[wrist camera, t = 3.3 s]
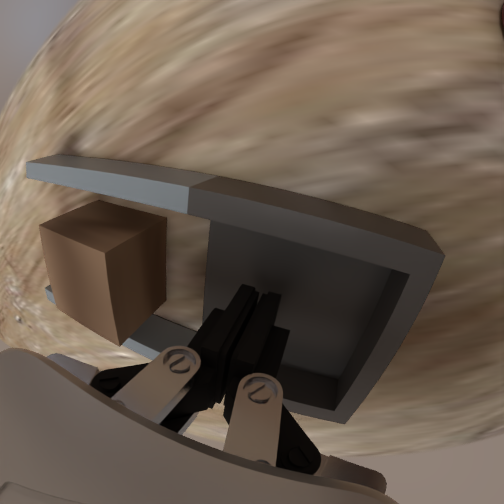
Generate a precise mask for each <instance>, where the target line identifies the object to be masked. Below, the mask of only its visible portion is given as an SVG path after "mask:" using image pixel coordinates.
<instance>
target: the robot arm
mask: <svg viewBox="0 0 504 504" xmlns="http://www.w3.org/2000/svg"><path fill="white" fill-rule="evenodd" d="M281 296H282V295H281V294H277V293H274V292H270V291H269V292H268V294H264V293H263V294H262V296H261V298H260V300H259V302H258V297H259V292H257V291H255V287H253V286H249V285H246V284H242V285H241V286H240V288H239V289H238V291H237V292H236V294H235V295H234V297H233V299H232V300H231V302H230V303H229V305H228V306H227V308H226V309H225V310H222V309H219V308H214V309H213V310H212V312H211V313H210V314H209V316H208V317H207V319H206V320H205V322H204V323H203V324H202V326H201V327H200V329H199V330H198V331H197V333H196V334H195V336H194V337H193V338H192V340H191V341H190V343H189V344H188V346H187V347H186V346H172V347H169V348H167V349H165V350H164V351H162V352H161V353H160V354H159V355H158V356H157V357H156V358H155V359H154V360H153V361H151V362H150V363H145V364H139V365H134V366H127V367H121V368H114V369H107V370H104V371H99V369H98V368H97V367H94V366H92V365H89V364H86V363H83V362H80V361H78V360H75V359H72V358H70V357H67V356H65V355H62V354H58V353H56V354H51V355H49V356H47V357H45V356H43V355H41V354H39V353H36V352H33V351H30V350H27V349H22V348H8V349H6V350H4V351H2V352H0V504H398V503H397V502H396V501H395V500H393V499H392V498H390V497H389V496H387V495H385V491H386V485H387V483H386V480H385V478H384V477H383V475H382V474H381V473H379V472H377V471H374V470H371V469H368V468H365V467H362V466H359V465H356V464H353V463H351V462H347V461H345V460H342V459H340V458H337V457H334V456H332V455H330V456H329V457H328V456H325V455H323V454H320V452H319V451H318V449H317V447H316V446H315V445H314V444H313V442H312V441H311V440H310V439H309V437H308V436H307V435H306V434H305V432H304V431H303V430H302V428H301V427H300V426H299V424H298V423H297V422H296V421H295V419H294V418H293V417H292V415H291V414H290V413H289V411H288V410H287V409H286V407H285V406H284V405H283V403H282V399H283V389H282V386H281V384H280V383H279V382H278V381H277V380H276V376H277V373H278V370H279V367H280V364H281V360H282V357H283V354H284V350H285V347H286V344H287V340H288V337H289V333H290V330H288V329H284V328H281V327H277V326H274V324H275V320H276V316H277V312H278V308H279V304H280V300H281ZM257 302H258V304H257ZM224 395H225V399H224V405H225V408H224V414H223V416H224V418H225V419H226V421H227V423H228V425H229V428H228V432H227V436H226V440H225V444H224V449H223V451H221V450H218V449H215V448H212V447H210V446H207V445H205V444H202V443H200V442H197V441H195V440H192V439H190V438H187V437H185V436H183V435H182V434H183V433H184V432H185V431H186V429H187V428H188V427H189V426H190V424H191V423H192V422H193V421H194V419H195V418H196V417H197V415H198V413H199V411H203V410H207V409H208V407H209V408H211V409H212V408H213V406H214V404H215V402H216V403H219V404H220V403H221V401H222V399H223V397H224Z"/></svg>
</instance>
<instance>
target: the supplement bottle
mask: <svg viewBox="0 0 504 504" xmlns="http://www.w3.org/2000/svg"><path fill="white" fill-rule="evenodd" d="M502 22H503V27H504V5H503V8H502Z"/></svg>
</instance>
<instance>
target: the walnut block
mask: <svg viewBox="0 0 504 504" xmlns="http://www.w3.org/2000/svg"><path fill="white" fill-rule="evenodd" d="M39 229H40V235H41V241H42V247H43V252H44V258H45V263H46V267H47V272H48V276H49V280H50V284H51V288H52V292H53V296H54V299H55V303H56V306H57V308H58V309H59V310H61V311H62V312H64V313H65V314H67V315H68V316H70V317H71V318H73V319H74V320H76V321H77V322H79V323H80V324H82V325H84V326H85V327H87V328H88V329H90V330H92V331H93V332H95V333H97V334H98V335H100V336H102V337H103V338H105V339H107V340H109V341H110V342H112V343H114V344H116V345H118V346H119V347H120V346H121V345H122V344H123V343H124V342H125V341H126V340H127V339H128V338H129V337H130V336H131V335H132V334H133V333H134V332H135V331H136V330H137V329H138V328H139V327H140V326H141V325H142V324H143V323H144V322H145V321H146V320H147V319H148V318H149V317H150V316H151V315H152V314H153V313H154V312H155V311H156V310H157V309H158V308H159V307H160V306H161V305H162V304H163V303H164V302H165V301H166V230H167V218H166V217H162V216H158V215H154V214H151V213H147V212H143V211H139V210H135V209H131V208H127V207H123V206H119V205H116V204H112V203H108V202H104V201H100V200H97V201H95V202H92V203H90V204H87V205H85V206H82V207H80V208H77V209H75V210H72V211H70V212H68V213H65V214H63V215H61V216H58V217H56V218H54V219H51V220H49V221H47V222H45V223H43V224H40V225H39Z"/></svg>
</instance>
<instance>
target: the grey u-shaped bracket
mask: <svg viewBox="0 0 504 504" xmlns="http://www.w3.org/2000/svg"><path fill="white" fill-rule="evenodd" d="M26 171H27V178H30V179H35V180H39V181H44V182H49V183H54V184H58V185H63V186H68V187H72V188H77V189H81V190H86V191H91V192H95V193H99V194H104V195H108V196H113V197H117V198H121V199H126V200H130V201H134V202H139V203H143V204H147V205H151V206H156V207H160V208H164V209H168V210H172V211H176V212H181V213H185V214H189V215H193V216H197V217H201V218H205V219H209V220H211V221H210V231H209V242H208V253H207V265H206V278H205V291H204V306H203V322H202V324H203V323H204V322H205V320H206V319H207V317H208V316H209V314H210V313H211V312H212V310H213V309H214V308H219V309H222V310H225V309H226V308H227V306H228V305H229V303H230V302H231V300H232V299H233V297H234V295H235V294H236V292H237V291H238V289H239V288H240V286H241V285H242V284H246V285H249V286H253V287H255V291H257V292H259V297H258V302H259V300H260V298H261V296H262V294H263V293H264V294H268V292H269V291H270V292H274V293H277V294H281V295H282V296H281V300H280V304H279V308H278V312H277V316H276V320H275V324H274V326H277V327H281V328H284V329H288V330H290V333H289V337H288V340H287V344H286V347H285V350H284V354H283V357H282V360H281V364H280V367H279V370H278V373H277V376H276V380H277V381H278V382H279V383H280V384H281V386H282V389H283V399H282V403H283V405H284V406H285V407H286V409H287V410H288V411H290V412H294V413H298V414H301V415H305V416H310V417H314V418H318V419H323V420H327V421H332V422H337V423H342V424H345V423H346V422H347V421H348V420H349V419H350V417H351V416H352V415H353V413H354V412H355V411H356V410H357V408H358V407H359V406H360V404H361V403H362V402H363V400H364V399H365V398H366V396H367V395H368V394H369V392H370V391H371V390H372V388H373V387H374V385H375V384H376V382H377V381H378V380H379V378H380V377H381V375H382V374H383V372H384V371H385V369H386V368H387V366H388V365H389V363H390V362H391V360H392V358H393V357H394V355H395V354H396V352H397V350H398V349H399V347H400V345H401V344H402V342H403V340H404V339H405V337H406V335H407V333H408V332H409V330H410V328H411V326H412V325H413V323H414V321H415V319H416V317H417V315H418V313H419V311H420V310H421V308H422V306H423V304H424V302H425V300H426V298H427V296H428V294H429V291H430V289H431V287H432V285H433V283H434V281H435V279H436V276H437V274H438V272H439V270H440V267H441V265H442V262H443V260H444V258H445V254H444V253H443V251H442V250H441V249H440V247H439V246H438V245H437V243H436V242H435V241H434V240H433V238H432V237H431V236H430V234H429V233H428V232H427V231H426V230H423V229H420V228H417V227H414V226H411V225H408V224H405V223H401V222H398V221H395V220H392V219H389V218H386V217H382V216H379V215H376V214H372V213H369V212H366V211H362V210H359V209H355V208H352V207H348V206H344V205H341V204H337V203H333V202H330V201H326V200H322V199H318V198H314V197H310V196H306V195H302V194H298V193H294V192H290V191H286V190H282V189H277V188H273V187H268V186H264V185H259V184H255V183H250V182H245V181H240V180H235V179H230V178H225V177H220V176H215V175H210V174H204V173H199V172H193V171H187V170H181V169H175V168H169V167H162V166H155V165H149V164H141V163H134V162H126V161H118V160H110V159H101V158H91V157H80V156H69V155H52V156H48V157H44V158H40V159H36V160H32V161H28V162H26ZM45 291H46V294H47V298H48V300H50V301H51V302H53V303H54V304H55V305H56V303H55V299H54V296H53V292H52V288H51V284H50V285H49V286H47V287H46V288H45ZM258 302H257V304H258ZM196 333H197V332H195V331H193V330H190V329H187V328H185V327H182V326H180V325H177V324H175V323H172V322H170V321H168V320H165V319H163V318H160V317H158V316H156V315H153V314H152V315H151V316H150V317H149V318H148V319H147V320H146V321H145V322H144V323H143V324H142V325H141V326H140V327H139V328H138V329H137V330H136V331H135V332H134V333H133V334H132V335H131V336H130V337H129V338H128V339H127V340H126V341H125V342H124V343H123V344H122V345H123V346H125V347H127V348H129V349H131V350H133V351H135V352H137V353H139V354H141V355H143V356H145V357H147V358H149V359H151V360H154V359H155V358H156V357H157V356H158V355H159V354H160V353H161V352H162V351H164V350H165V349H167V348H169V347H172V346H186V347H187V346H188V344H189V343H190V341H191V340H192V338H193V337H194V336H195V334H196Z"/></svg>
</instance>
